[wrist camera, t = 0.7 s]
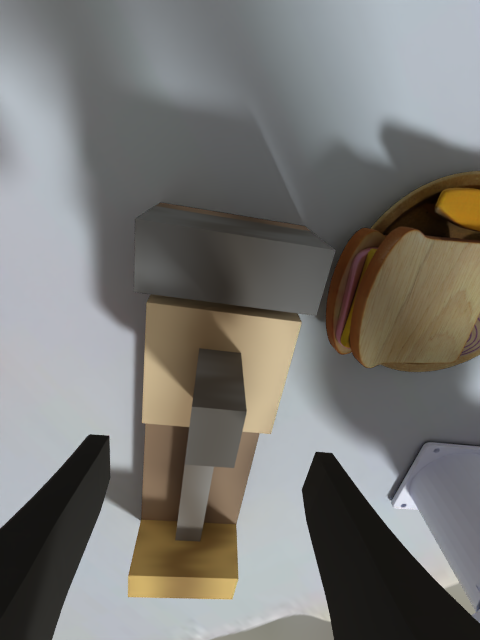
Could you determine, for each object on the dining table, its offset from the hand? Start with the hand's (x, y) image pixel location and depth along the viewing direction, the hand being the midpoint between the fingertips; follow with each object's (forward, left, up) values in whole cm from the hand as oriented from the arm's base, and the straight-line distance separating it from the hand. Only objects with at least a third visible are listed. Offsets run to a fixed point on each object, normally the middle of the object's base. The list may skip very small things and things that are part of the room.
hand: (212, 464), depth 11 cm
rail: (0, +7, -10) cm, 13 cm away
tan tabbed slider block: (0, 0, -9) cm, 9 cm away
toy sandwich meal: (-13, -5, -11) cm, 17 cm away
